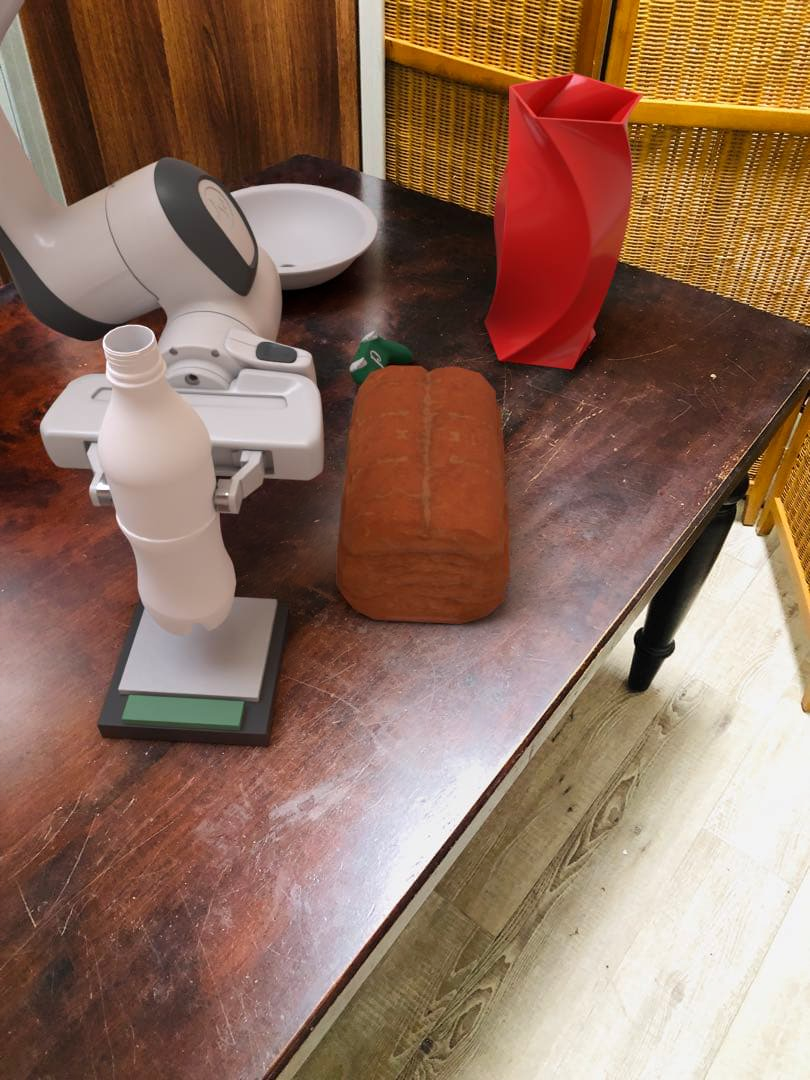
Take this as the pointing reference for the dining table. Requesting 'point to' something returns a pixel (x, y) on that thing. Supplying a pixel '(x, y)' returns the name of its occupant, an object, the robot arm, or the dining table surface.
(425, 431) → the bread
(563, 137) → the vase
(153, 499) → the water bottle
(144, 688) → the kitchen scale
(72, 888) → the dining table surface
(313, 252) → the soup bowl
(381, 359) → the gaming controller
